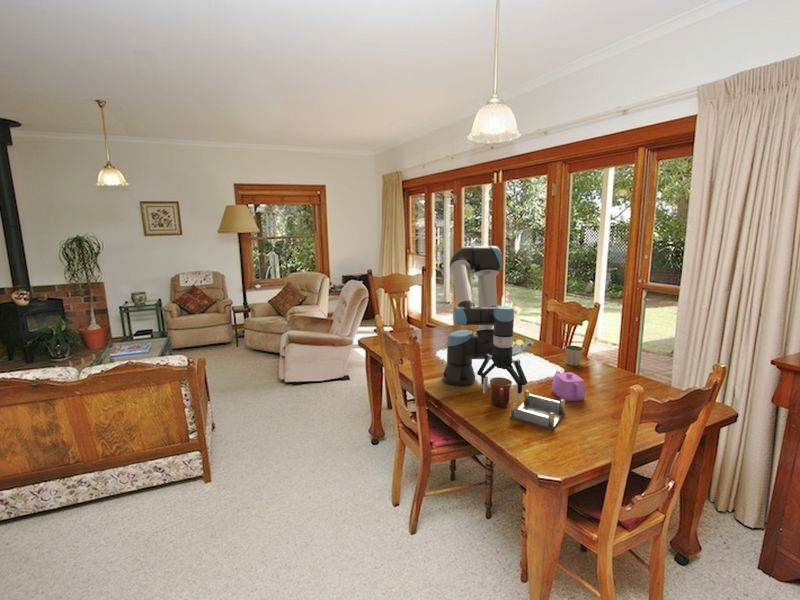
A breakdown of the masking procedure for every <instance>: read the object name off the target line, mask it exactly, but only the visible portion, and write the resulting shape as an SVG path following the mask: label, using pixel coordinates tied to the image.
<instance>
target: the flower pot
mask: <svg viewBox="0 0 800 600" xmlns="http://www.w3.org/2000/svg"><path fill="white" fill-rule="evenodd" d="M564 350H565V357H566V359H565V360H566V364H567V365H570V366H575V367H578V366H579V365H580V364H581V360H582V355H583V352H584V351H585V348H584V347H582V346H578V345H572V344H571V345H570V344H569V345H565V346H564Z"/></svg>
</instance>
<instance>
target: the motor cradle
mask: <svg viewBox="0 0 800 600" xmlns="http://www.w3.org/2000/svg"><path fill="white" fill-rule="evenodd" d="M523 392H524V394H523V402H522V403H520V405H519V406H518V403H517V402H515V401H512V402H511V407H510V408H511V410H510V415H509V419H511V420H514V421H518V422H522V423H525V424H527V425H532V426H535V427H538V428H542V429H545V430H549V431H554V430H555V429H556V427H557V426H558V424H559V423H560V421H561V420H562V418H563V417H564V416H565V414H566V401H565V399H560V398H559V400H555V399H551V398H547V397H543V396H539V395H535V394H531V393H530V389H529V390H528V389H525V390H523Z"/></svg>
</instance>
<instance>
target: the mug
mask: <svg viewBox="0 0 800 600" xmlns="http://www.w3.org/2000/svg"><path fill="white" fill-rule="evenodd" d="M489 383H490V388H491V392H490V403H491V405H492V406H493V407H495V408H498V409H505V408H508V406H509V405H510V401H511V399H510V397H511V395H510V394H511V393H510V392H511V386H512V384H513V381H512V380H511V379H510V378H506V377H500V376H499V377H492V378H490V379H489Z"/></svg>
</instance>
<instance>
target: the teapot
mask: <svg viewBox="0 0 800 600" xmlns="http://www.w3.org/2000/svg"><path fill="white" fill-rule="evenodd" d="M553 375H554V376H553V379H552V383H551V384H552V385H551V391H552V393H553V394H554V396H556V397H558V398H559V400H560V399H565V402H578V401H579V402H580V401H584V400H585V397H586V387H585V385H586V384H585V381H584V379H583V378H581V377H580V376H579V375H577V374H575V373H573V372H570V371H569V372H561V371H558V370H557V371H555V373H554V374H553Z"/></svg>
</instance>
